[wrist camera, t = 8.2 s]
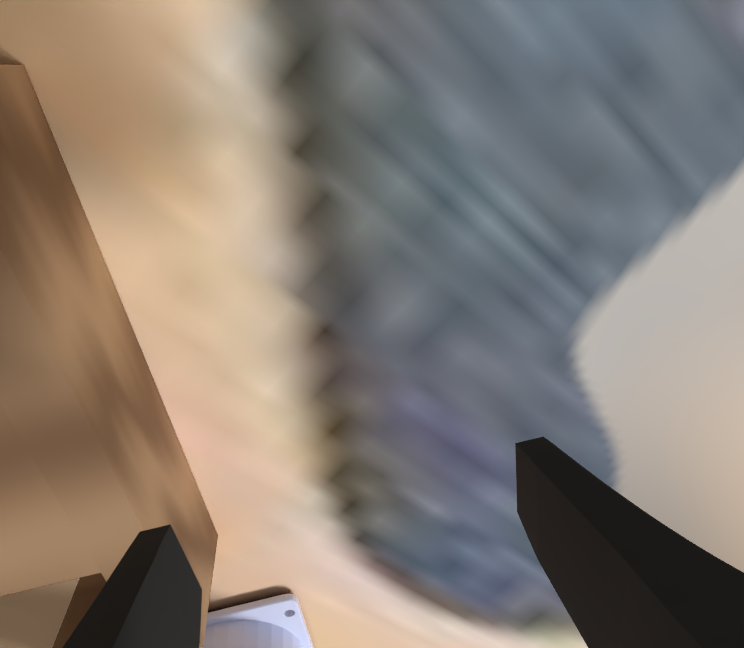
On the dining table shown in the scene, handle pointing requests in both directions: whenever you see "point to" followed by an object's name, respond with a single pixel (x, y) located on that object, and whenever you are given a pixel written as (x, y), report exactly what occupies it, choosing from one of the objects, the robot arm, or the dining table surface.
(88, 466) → the wooden notched bar
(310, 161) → the dining table surface
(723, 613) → the robot arm
